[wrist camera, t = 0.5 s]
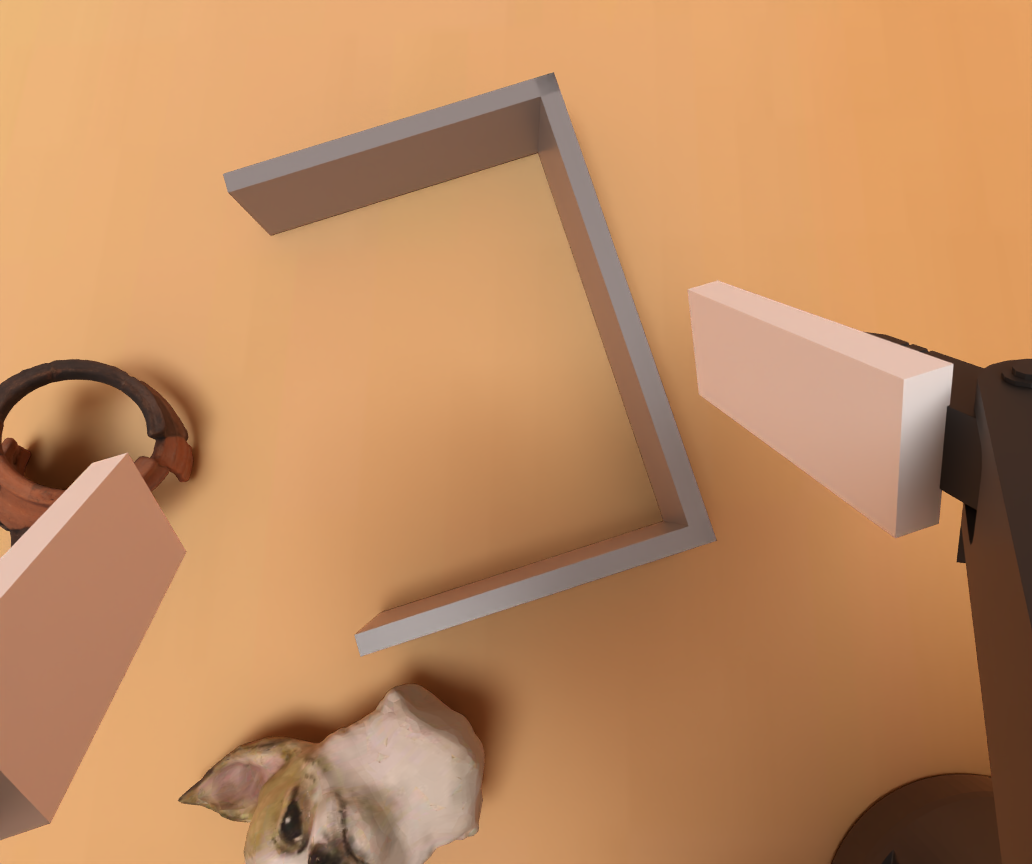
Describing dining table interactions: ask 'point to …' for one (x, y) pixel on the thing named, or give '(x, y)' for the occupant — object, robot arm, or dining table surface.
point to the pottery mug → (22, 502)
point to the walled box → (549, 132)
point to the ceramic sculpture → (355, 787)
